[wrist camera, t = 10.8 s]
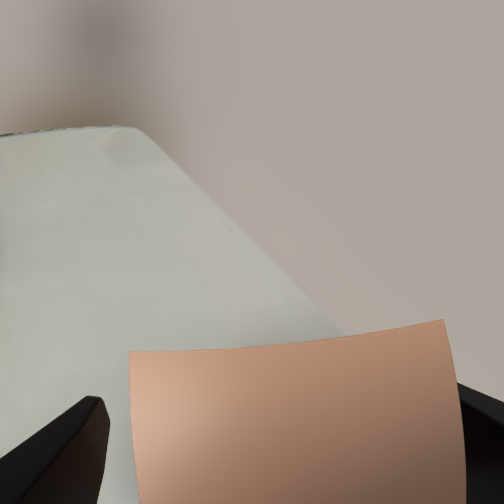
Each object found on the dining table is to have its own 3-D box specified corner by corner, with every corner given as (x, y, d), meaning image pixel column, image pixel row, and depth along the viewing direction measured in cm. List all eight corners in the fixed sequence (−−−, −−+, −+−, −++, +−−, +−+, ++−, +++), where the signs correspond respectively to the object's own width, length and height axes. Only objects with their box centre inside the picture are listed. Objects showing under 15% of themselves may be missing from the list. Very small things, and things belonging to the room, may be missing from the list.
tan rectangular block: (207, 486, 12) (172, 629, 2) (198, 394, 15) (129, 351, 4) (307, 476, 13) (461, 561, 2) (297, 386, 15) (443, 318, 5)
